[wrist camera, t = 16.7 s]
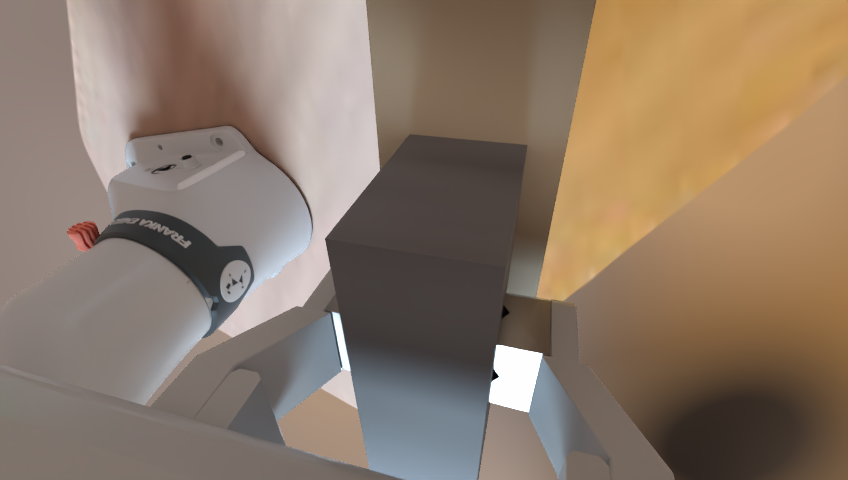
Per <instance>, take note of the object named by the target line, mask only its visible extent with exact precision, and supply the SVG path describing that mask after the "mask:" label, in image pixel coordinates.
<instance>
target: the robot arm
mask: <svg viewBox="0 0 848 480" xmlns="http://www.w3.org/2000/svg"><path fill="white" fill-rule="evenodd" d="M221 140H222V141H221ZM125 156H126V163H127V167H128V169H126V170H125V171H123V172H121V173H119V174H118V175H116V176H115V177H113V178H112V179H111V181H110V183H109V186H108V198H109V202H110V207H111V210H112V215H113V221H112V222H111V223H110V224H109V225H108V227H107V228H106V229H105V230H104V231H103V232H102V233H101V235H100V234H99V232H98V228H97V226H96V224H95V223H94V222H83V223H78V224H77V225H73V226H72V228H69V229H68V230H69V231H67V233H68V235H69V236H70V238H71V239H72V240H73V241H74V242H75V243H76V247H77V249H78V250H81V251H85V252H83V253H82V254H80V255H79V256H77V257H75V258H74V259H72V260H71V261H69V262H67V263H66V264H64V265H63V266H61V267H59V268H58V269H56V270H55V271H53V272H52V273H50V274H48V275H47V276H45V277H43V278H42V279H40V280H39V281H37V282H36V283H34V284H32V285H31V286H29V287H27V288H26V289H24V290H23V291H21V292H19V293H18V294H16V295H15V296H13V297H12V298H11V299H9V300H8V301H7V302H6V303H5V304H4V306H3V307H2V308H1V309H0V480H404V479H401V478H397V477H394V476H390V475H387V474H383V473H380V472H376V471H373V470H369V469H366V468H362V467H359V466H355V465H352V464H348V463H344V462H341V461H338V460H334V459H331V458H327V457H323V456H320V455H316V454H313V453H309V452H306V451H302V450H299V449H295V448H292V447H288V446H286V444H285V440H284V438H283V435H282V432H281V430H280V427H279V425H278V422H277V421H278V420H279V419H280V418H282V417H283V416H284V415H286V414H287V413H288V412H289V411H291V410H292V409H293V408H294V407H296V406H297V405H298V404H300V403H301V402H302V401H304V400H305V399H306V398H307V397H309V396H310V395H311V394H312V393H314V392H315V391H316V390H318V389H319V388H320V387H321V386H323V385H324V384H325V383H327V382H328V381H329V380H330V379H332V378H333V377H334V376H336V375H337V374H338V373H339V372H341V369H345V370H350V365H349V360H348V355H347V350H346V345H345V339H344V334H343V329H342V324H341V319H340V313H339V308H338V303H337V298H336V293H335V287H334V282H333V277H332V272H331V269H330V270H329V272H328V273H327V274H326V276H325V277H324V278H323V280H322V281H321V282H320V284H319V285H318V287H317V288H316V289H315V291H314V292H313V293H312V295H311V296H310V298H309V299H308V300H307V302H306V303H305V304H304V306H303V307H298V306H296V307H294V308H292V309H290V310H288V311H286V312H284V313H282V314H280V315H278V316H276V317H274V318H272V319H270V320H268V321H266V322H264V323H262V324H260V325H258V326H256V327H254V328H252V329H250V330H247V331H245V332H243V333H241V334H239V335H237V336H235V337H233V338H231V339H229V340H227V341H225V342H223V343H221V344H219V345H217V346H215V347H213V348H211V349H209V350H207V351H205V352H203V353H201V354H199V355H197V356H196V357H195V358H194V359H193V360H192V361H191V362H190V364H189V365H188V366H187V367H186V368H185V369H184V370H183V371H182V372H181V373H180V374H179V376H178V377H177V378H176V379H175V380H174V381H173V382H172V383H171V385H169V387H168V388H167V389H166V390H165V391H164V392H163V393H162V394H161V395H160V397H159V398H158V399H157V400H156V401H155V402H154V403H153V404H152V405H151V407H148V406H145V404H146V402H147V401H148V400H149V398H150V397H151V396H152V395H153V393H154V392H155V391H156V390H157V388H158V387H159V386H160V385H161V384H162V382H163V381H164V380H165V379H166V378H167V376H168V375H169V374H170V373H171V372H172V370H173V369H174V368H175V367H176V366H177V364H178V363H179V362H180V361H181V360H182V359H183V358H184V357H185V356H186V354H187V353H188V352H189V351H190V350H191V349H192V348H193V347H194V346H195V344H196V343H197V342H198V341H199V340H200V339H201V338H206V337H208V336H210V335H211V334H212V333H213V332H214V331H215V330H216V329H218V328H219V327H220V326H221V325H222V324H223V323H224V321H225V320H226V319H227V318H228V317H229V316H230V315H231V314H232V313H233V312H234V311H235V310H236V309H237V307H238V306H239V304H240V302H241V301H242V300H243V299H244V298H246V297H247V296H248V295H249V294H250V293H252V292H253V291H254V290H255V289H256V288H257V287H259V286H260V285H261V284H262V283H263V282H264V281H266V280H267V279H268V278H273V277H275V276H276V275H277V274H278V273H280V271H281V270H282V268H283V267H284V265H285V264H286V263H288V262H289V261H291V260H292V259H294V258H296V257H297V256H299V255H300V254H302V253H303V252H304V251H305V249H306V248H307V246H308V244H309V242H310V239H311V234H312V224H311V218H310V214H309V211H308V208H307V205H306V203H305V201H304V199H303V197H302V195H301V194H300V192H299V191H298V189H297V188H296V186H295V185H294V184H293V183H292V181H291V180H290V179H289V178H288V177H287V176H286V175H285V174H284V173H283V172H282V171H281V170H280V169H279V168H277V167H276V166H275V165H274V164H272V163H271V162H270V161H268V160H267V159H265V158H264V157H262V156H261V155H260V154H259V153H258V152H256V151H255V150H254V148H253V147H252V146H251V144H250V143H249V142H248V141H247V139H246V138H245V137H244V136H243V135H242V134H241V133H240V132H239V131H238V130H237V129H236V128H234V127H231V126H222V127H215V128H207V129H200V130H192V131H185V132H177V133H170V134H162V135H155V136H147V137H140V138H135V139H132V140H131V141H129V142H127V143H126V149H125ZM489 402H492V403H496V404H500V405H503V406H507V407H511V408H515V409H519V410H523V411H527V412H528V415H529V417H530V419H531V421H532V423H533V425H534V427H535V429H536V432H537V434H538V436H539V438H540V440H541V442H542V444H543V446H544V448H545V450H546V452H547V455H548V456H549V459H550V461H551V463H552V465H553V467H554V469H555V471H556V473H557V475H558V479H557V480H674V476H673V473H672V471H671V470H670V469H669V467H668V466H667V465H666V464H665V462H664V461H663V460H662V459H661V457H660V456H659V455H658V454H657V452H656V451H655V450H654V448H653V447H652V446H651V445H650V443H649V442H648V441H647V440H646V438H645V437H644V436H643V434H642V433H641V432H640V431H639V429H638V428H637V427H636V426H635V424H634V423H633V422H632V420H631V419H630V418H629V417H628V416H627V414H626V413H625V412H624V410H623V409H622V408H621V407H620V405H619V404H618V403H617V402H616V400H615V399H614V398H613V396H612V395H611V394H610V393H609V391H608V390H607V389H606V388H605V386H604V385H603V384H602V382H601V381H600V380H599V379H598V377H597V376H596V375H595V374H594V372H593V371H592V370H591V368H590V367H589V366H588V365H587V364H583V363H580V361H579V342H578V326H577V307H576V305H575V303H571V302H564V301H558V300H549V299H543V298H537V297H530V296H524V295H518V294H512V293H505V298H504V304H503V311H502V318H501V322H500V328H499V334H498V340H497V347H496V354H495V361H494V370H493V376H492V383H491V390H490V397H489Z"/></svg>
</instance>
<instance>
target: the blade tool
mask: <svg viewBox="0 0 848 480" xmlns="http://www.w3.org/2000/svg"><path fill="white" fill-rule="evenodd" d="M595 4H596V0H366V6H367V18H368V30H369V41H370V53H371V65H372V77H373V89H374V101H375V113H376V124H377V136H378V148H379V160H380V171H379V173H378V174H377V175H376V176H375V178H374V179H373V180H372V181H371V183H370V184H369V185H368V186H367V188H366V189H365V190H364V191H363V192H362V194H361V195H360V196H359V197H358V199H357V200H356V201H355V202H354V204H353V205H352V206H351V207H350V209H349V210H348V211H347V212H346V214H345V215H344V216H343V217H342V218H341V220H340V221H339V222H338V223H337V225H336V226H335V227H334V228H333V230H332V231H331V232H330V233H329V235H328V236H327V237H326V238H325V241H326V246H327V251H328V256H329V262H330V267H331V272H332V277H333V282H334V287H335V293H336V298H337V303H338V308H339V313H340V319H341V324H342V329H343V334H344V339H345V345H346V350H347V355H348V360H349V365H350V371H351V376H352V381H353V386H354V391H355V396H356V402H357V407H358V412H359V417H360V422H361V427H362V432H363V438H364V443H365V448H366V454H367V459H368V463H369V469H370V470H373V471H376V472H380V473H383V474H387V475H390V476H394V477H397V478H401V479H404V480H478V478H479V471H480V465H481V459H482V452H483V446H484V440H485V434H486V427H487V421H488V415H489V409H490V402H489V397H490V390H491V383H492V376H493V370H494V361H495V354H496V347H497V340H498V334H499V328H500V322H501V318H502V311H503V304H504V298H505V293H512V294H518V295H524V296H530V297H536V295H537V290H538V285H539V280H540V275H541V270H542V265H543V260H544V255H545V250H546V246H547V241H548V236H549V231H550V226H551V221H552V216H553V211H554V206H555V201H556V196H557V191H558V186H559V181H560V176H561V172H562V167H563V162H564V157H565V152H566V147H567V142H568V137H569V132H570V127H571V122H572V117H573V112H574V107H575V102H576V97H577V93H578V88H579V83H580V78H581V73H582V68H583V63H584V58H585V53H586V48H587V43H588V38H589V33H590V28H591V23H592V18H593V14H594V9H595Z"/></svg>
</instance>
